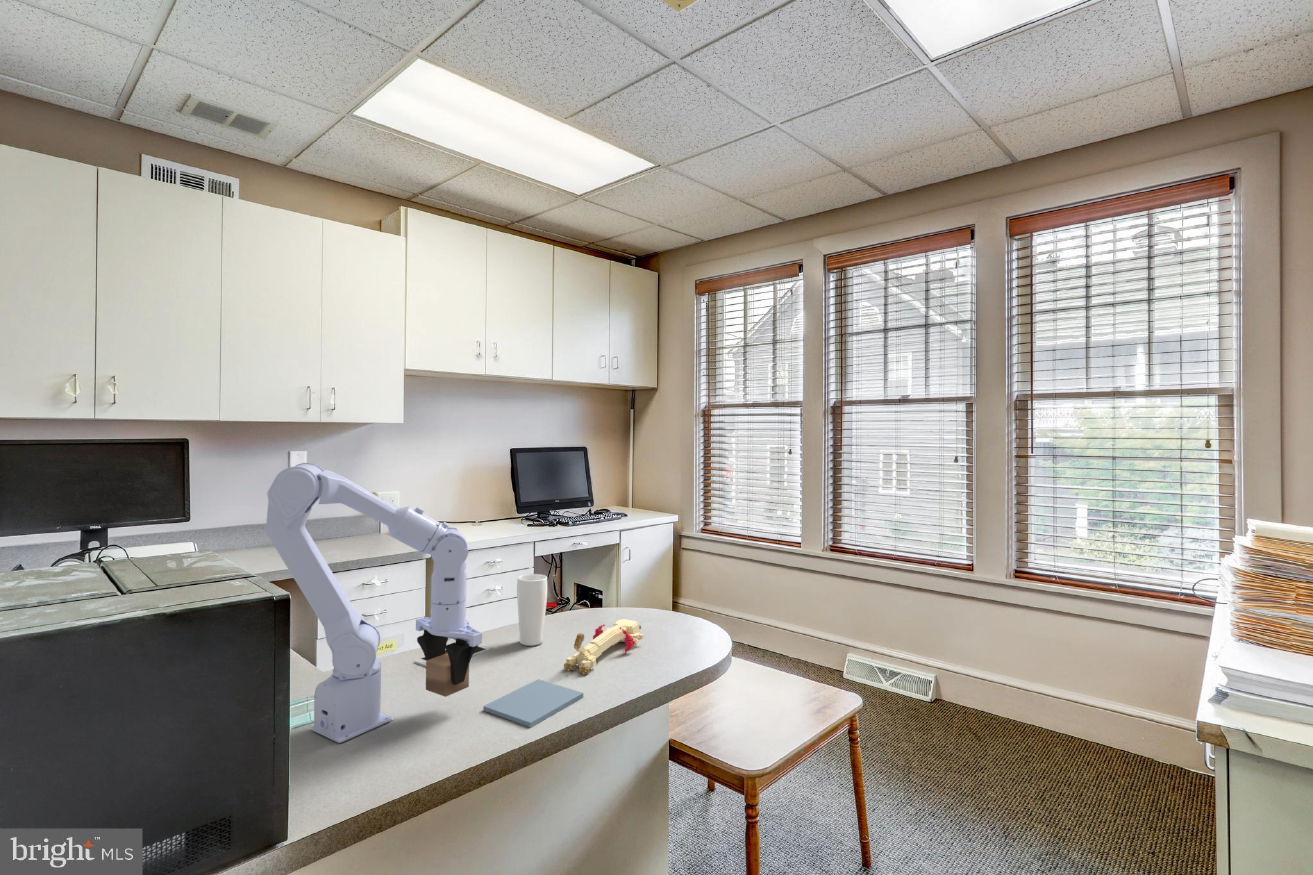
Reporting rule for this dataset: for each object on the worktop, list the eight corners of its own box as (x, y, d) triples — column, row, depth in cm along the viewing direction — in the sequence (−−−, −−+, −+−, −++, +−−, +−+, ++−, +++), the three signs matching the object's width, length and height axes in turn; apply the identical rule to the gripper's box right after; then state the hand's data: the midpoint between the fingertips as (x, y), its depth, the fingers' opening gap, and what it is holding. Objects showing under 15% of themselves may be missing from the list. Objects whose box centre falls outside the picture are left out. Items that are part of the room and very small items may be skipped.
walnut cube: (445, 696, 106) (446, 667, 106) (425, 689, 109) (426, 660, 109) (468, 686, 111) (469, 658, 111) (449, 680, 113) (449, 652, 113)
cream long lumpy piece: (597, 684, 127) (653, 637, 149) (596, 642, 126) (653, 601, 148) (555, 674, 131) (616, 630, 153) (554, 633, 130) (615, 595, 152)
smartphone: (494, 650, 141) (494, 646, 141) (435, 672, 128) (435, 667, 128) (472, 643, 145) (472, 639, 145) (413, 664, 132) (413, 660, 132)
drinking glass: (513, 639, 147) (514, 575, 146) (542, 636, 150) (543, 572, 149) (520, 649, 141) (521, 582, 140) (550, 645, 143) (551, 579, 143)
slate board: (530, 727, 105) (530, 722, 105) (483, 710, 111) (483, 706, 111) (583, 697, 117) (583, 692, 117) (538, 683, 123) (538, 679, 123)
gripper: (496, 602, 109) (494, 680, 109) (439, 588, 117) (437, 662, 117) (464, 612, 103) (462, 695, 103) (406, 597, 111) (404, 674, 111)
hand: (447, 678), depth 110 cm, fingers closed on walnut cube, 5 cm apart
